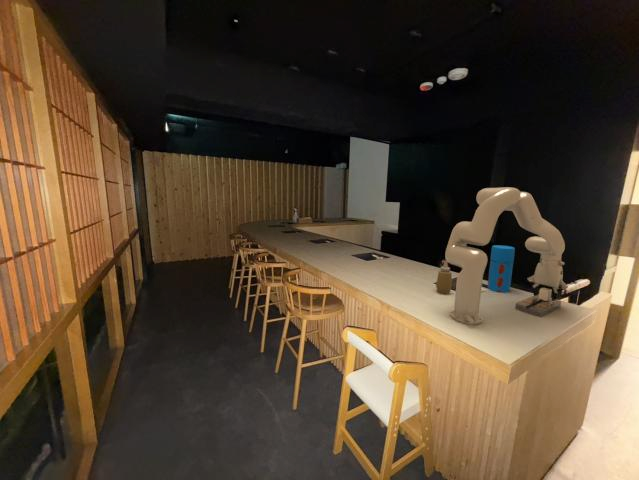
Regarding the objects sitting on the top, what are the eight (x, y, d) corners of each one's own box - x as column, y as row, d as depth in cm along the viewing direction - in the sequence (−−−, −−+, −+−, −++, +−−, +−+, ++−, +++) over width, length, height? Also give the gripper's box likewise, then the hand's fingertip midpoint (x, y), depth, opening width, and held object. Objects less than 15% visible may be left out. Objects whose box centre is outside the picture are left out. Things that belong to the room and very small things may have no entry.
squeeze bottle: (449, 296, 144) (452, 263, 141) (433, 293, 149) (436, 261, 146) (452, 292, 150) (455, 260, 147) (437, 289, 155) (439, 258, 152)
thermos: (487, 290, 153) (492, 247, 148) (486, 285, 162) (491, 244, 158) (511, 294, 148) (516, 249, 143) (508, 288, 157) (513, 246, 153)
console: (535, 300, 139) (536, 294, 139) (560, 306, 131) (561, 300, 130) (515, 309, 128) (515, 302, 128) (540, 317, 120) (541, 310, 119)
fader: (541, 299, 135) (543, 287, 134) (550, 301, 132) (551, 289, 131) (538, 300, 133) (539, 288, 132) (546, 303, 130) (548, 291, 129)
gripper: (576, 265, 123) (570, 302, 126) (532, 257, 138) (527, 290, 141) (570, 267, 120) (564, 305, 123) (525, 259, 134) (520, 293, 137)
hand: (544, 297), depth 132 cm, fingers open, 6 cm apart
